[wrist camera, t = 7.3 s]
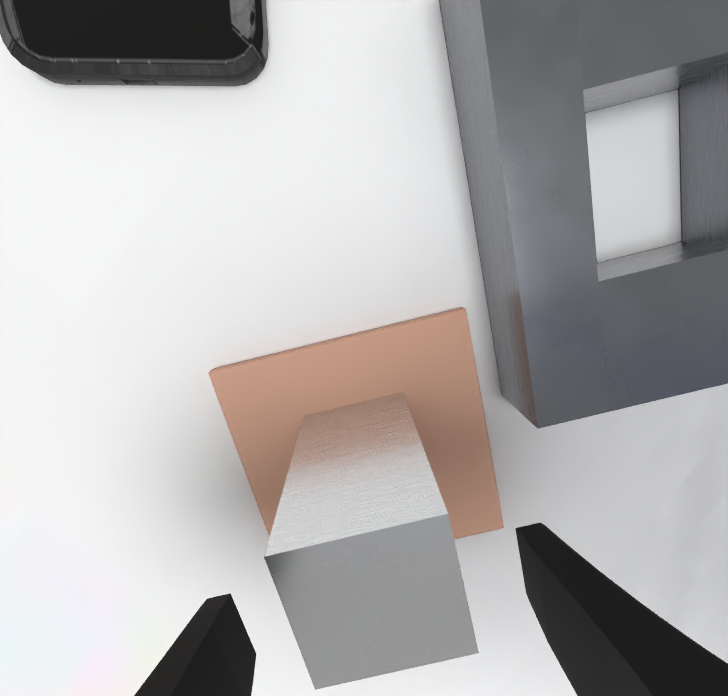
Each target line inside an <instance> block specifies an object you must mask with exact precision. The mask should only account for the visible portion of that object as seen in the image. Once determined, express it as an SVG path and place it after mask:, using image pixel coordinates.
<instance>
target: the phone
mask: <svg viewBox="0 0 728 696" xmlns="http://www.w3.org/2000/svg"><path fill="white" fill-rule="evenodd" d="M0 34H1V37H2V40H3V42H4V44H5V45H6V47H7V49H8V50H9V52H10V53H11V55H12V56H13V57H15V58H16V59H17V60H18V61H19V62H20V63H21V64H22V65H24V66H25V67H27V68H29V69H31V70H32V71H34V72H36V73H38V74H39V75H41V76H43V77H45V78H47V79H49V80H50V81H52V82H54V83H60V84H65V85H168V86H239V85H245V84H247V83H249V82H251V81H252V80H254V79H256V78H257V76H258V75H259V74H260V73H261V71H262V70H263V68H264V66H265V63H266V60H267V57H268V31H267V14H266V0H0ZM76 80H80V81H81V82H78V81H76Z"/></svg>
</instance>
